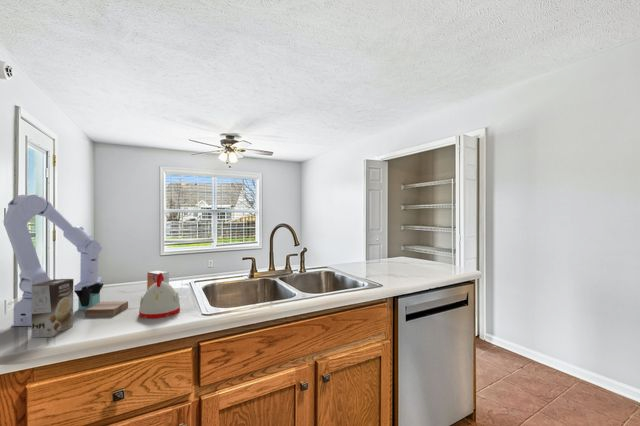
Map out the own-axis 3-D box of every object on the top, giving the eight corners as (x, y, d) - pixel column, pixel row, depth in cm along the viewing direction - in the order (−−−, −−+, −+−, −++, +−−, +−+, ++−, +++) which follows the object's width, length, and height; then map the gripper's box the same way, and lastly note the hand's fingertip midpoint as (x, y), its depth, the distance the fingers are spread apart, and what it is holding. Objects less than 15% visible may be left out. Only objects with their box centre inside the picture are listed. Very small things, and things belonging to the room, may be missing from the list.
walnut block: (113, 317, 114) (113, 309, 114) (84, 317, 113) (84, 309, 113) (128, 308, 124) (128, 301, 124) (101, 309, 123) (101, 301, 123)
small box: (146, 294, 143) (146, 272, 143) (158, 292, 148) (158, 270, 148) (157, 297, 139) (158, 273, 139) (169, 294, 144) (169, 271, 144)
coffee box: (53, 337, 95) (53, 285, 95) (30, 338, 94) (30, 285, 94) (73, 326, 104) (74, 278, 104) (53, 326, 103) (53, 278, 103)
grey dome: (134, 320, 110) (134, 278, 110) (144, 308, 124) (145, 270, 123) (176, 316, 114) (176, 276, 114) (182, 305, 127) (182, 269, 127)
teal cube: (92, 309, 121) (92, 296, 121) (78, 309, 121) (78, 297, 121) (99, 305, 126) (99, 293, 126) (86, 305, 126) (86, 293, 126)
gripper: (88, 273, 117) (88, 309, 117) (110, 266, 131) (110, 298, 131) (68, 273, 116) (68, 310, 116) (92, 266, 130) (92, 299, 130)
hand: (89, 304), depth 123 cm, fingers closed on teal cube, 5 cm apart
